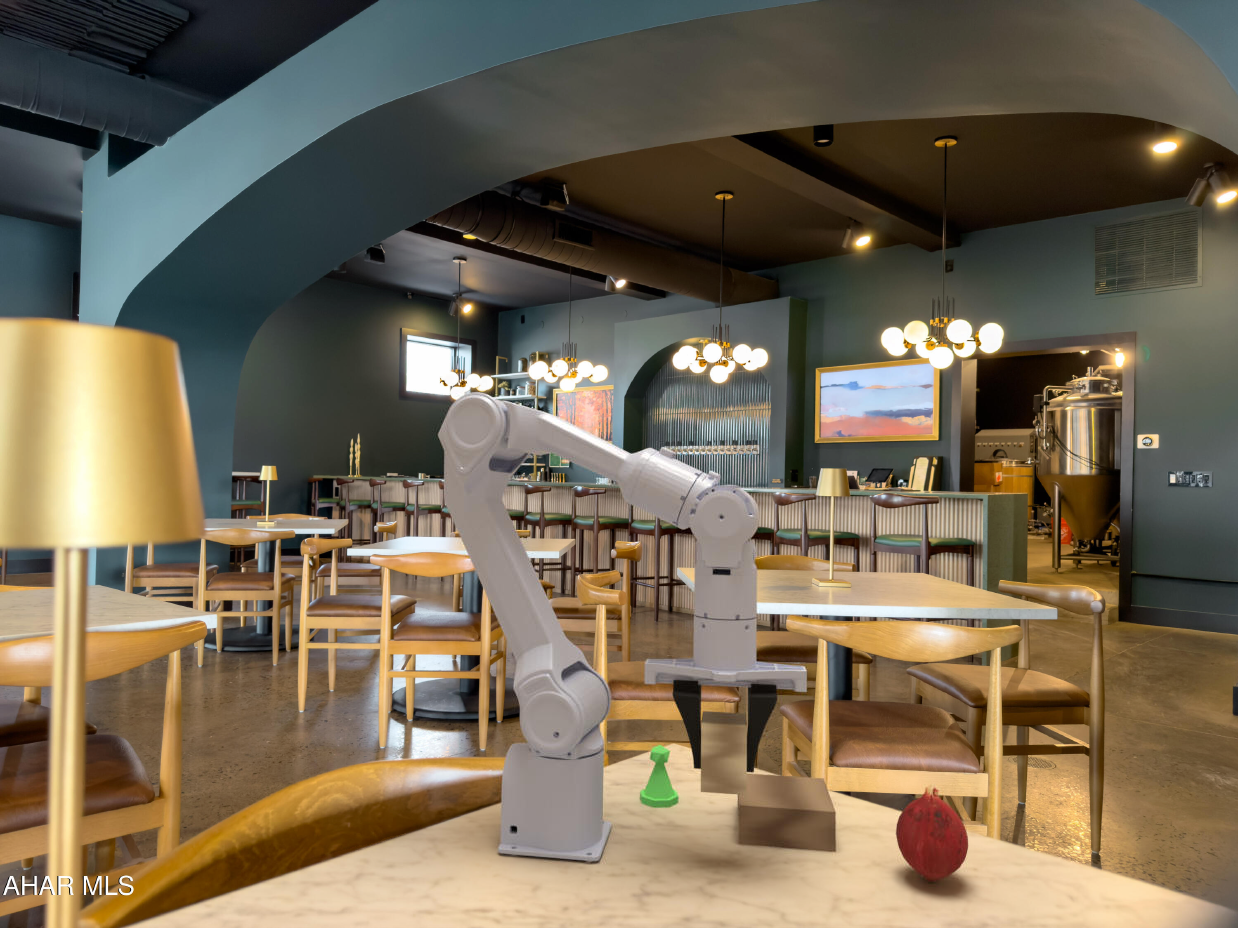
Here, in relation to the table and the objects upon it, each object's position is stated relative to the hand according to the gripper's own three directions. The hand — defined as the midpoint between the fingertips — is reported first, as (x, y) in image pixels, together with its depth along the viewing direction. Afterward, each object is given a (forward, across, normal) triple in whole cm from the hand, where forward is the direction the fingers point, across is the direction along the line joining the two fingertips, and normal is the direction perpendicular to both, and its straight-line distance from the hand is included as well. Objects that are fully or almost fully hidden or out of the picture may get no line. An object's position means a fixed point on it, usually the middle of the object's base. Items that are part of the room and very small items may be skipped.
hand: (723, 766), depth 69 cm
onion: (+9, +18, 0) cm, 20 cm away
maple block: (+2, 0, 0) cm, 2 cm away
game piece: (+9, -7, +14) cm, 18 cm away
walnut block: (+9, +6, +9) cm, 14 cm away
